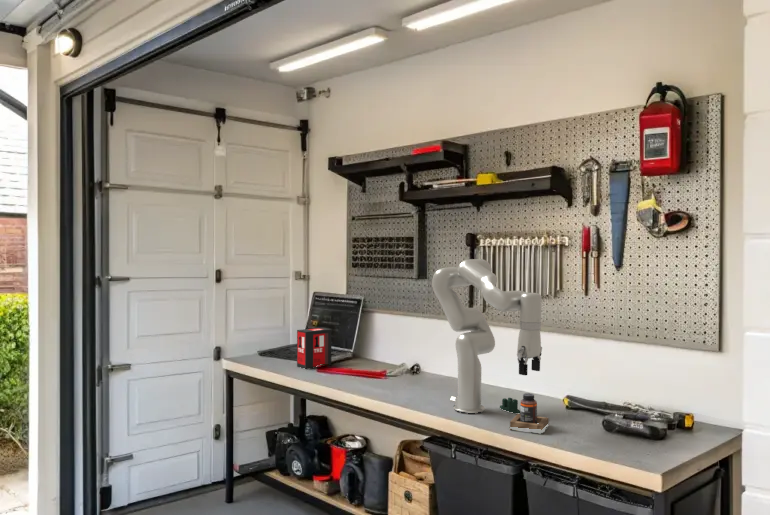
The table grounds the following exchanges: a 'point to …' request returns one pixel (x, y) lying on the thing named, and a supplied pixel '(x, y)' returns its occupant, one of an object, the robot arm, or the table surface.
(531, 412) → the supplement bottle
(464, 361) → the robot arm
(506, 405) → the mount
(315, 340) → the cleaning product box
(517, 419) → the walnut holder
